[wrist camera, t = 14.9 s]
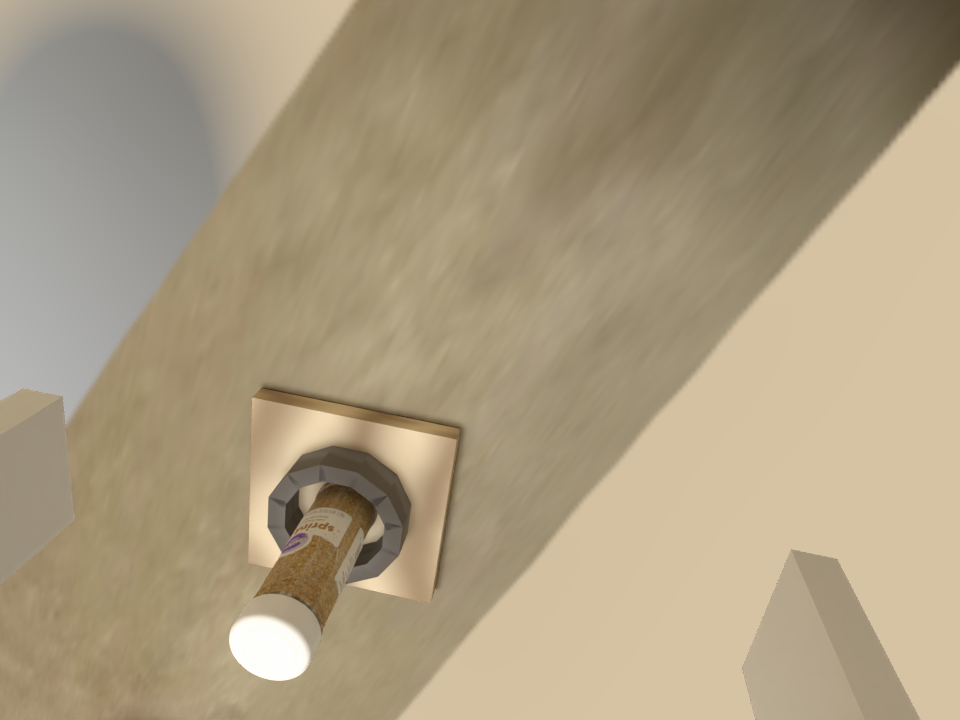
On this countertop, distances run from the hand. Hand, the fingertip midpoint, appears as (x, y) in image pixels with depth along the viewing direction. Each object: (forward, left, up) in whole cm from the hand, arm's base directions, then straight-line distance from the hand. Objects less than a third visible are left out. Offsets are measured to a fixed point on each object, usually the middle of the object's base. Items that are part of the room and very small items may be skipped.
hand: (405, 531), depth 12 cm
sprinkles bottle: (+9, +22, -29) cm, 38 cm away
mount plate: (+9, +22, -31) cm, 39 cm away
